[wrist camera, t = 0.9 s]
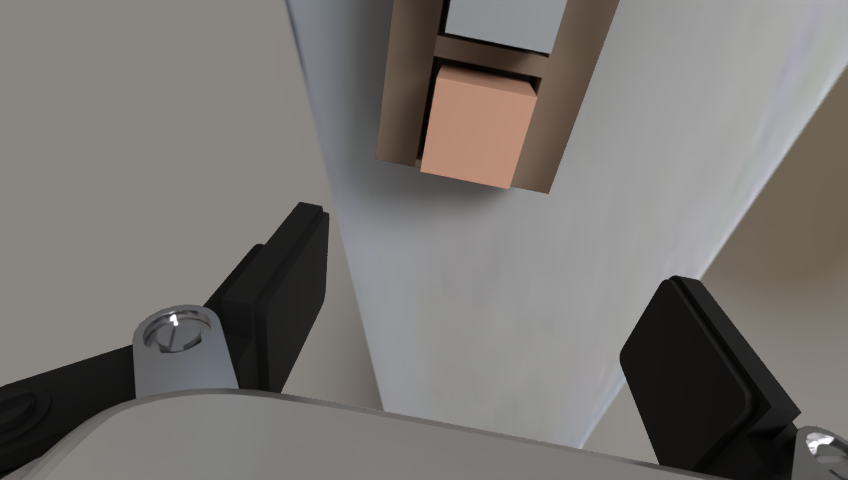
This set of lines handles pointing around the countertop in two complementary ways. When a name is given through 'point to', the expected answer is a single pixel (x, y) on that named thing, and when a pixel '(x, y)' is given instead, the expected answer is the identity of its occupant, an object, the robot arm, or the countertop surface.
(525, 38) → the slate key
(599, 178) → the countertop surface
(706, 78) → the countertop surface
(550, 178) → the key console
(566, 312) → the countertop surface
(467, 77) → the terracotta key
